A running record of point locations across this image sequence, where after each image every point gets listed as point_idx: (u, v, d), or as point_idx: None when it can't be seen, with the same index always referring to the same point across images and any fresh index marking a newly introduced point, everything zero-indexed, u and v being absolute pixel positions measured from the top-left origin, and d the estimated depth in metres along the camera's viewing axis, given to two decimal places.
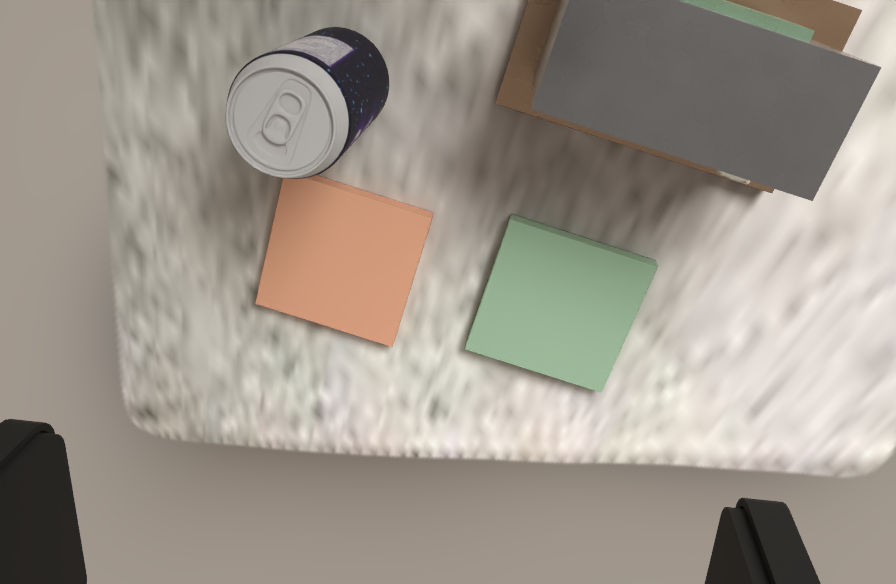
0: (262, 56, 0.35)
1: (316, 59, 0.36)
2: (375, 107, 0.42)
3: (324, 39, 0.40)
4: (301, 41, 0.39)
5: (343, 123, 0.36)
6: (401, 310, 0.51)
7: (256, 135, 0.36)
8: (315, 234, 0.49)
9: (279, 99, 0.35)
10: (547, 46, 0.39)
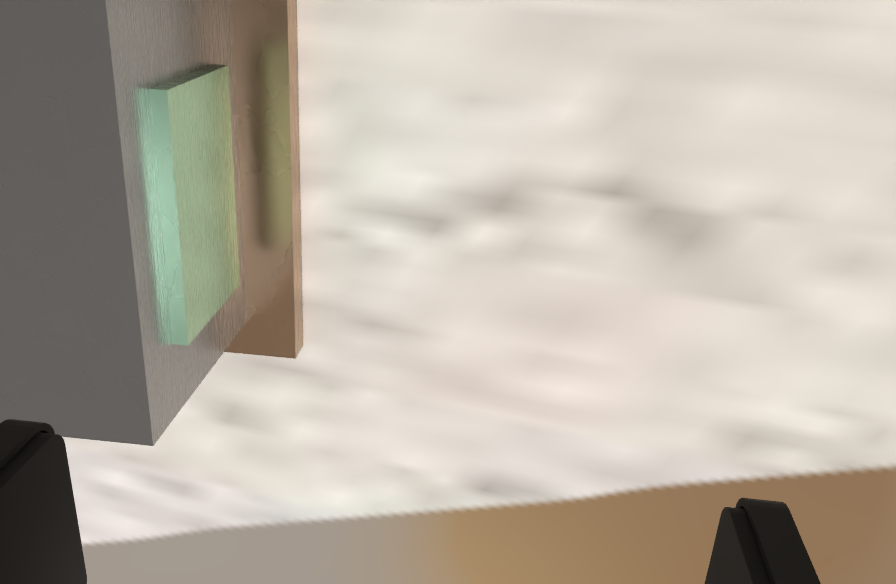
0: None
1: None
2: None
3: None
4: None
5: None
6: None
7: None
8: None
9: None
10: None
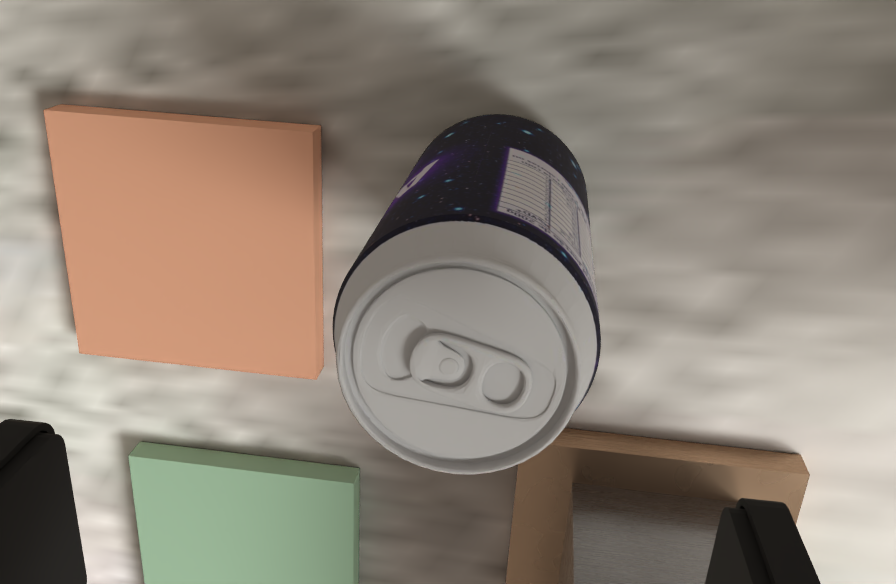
0: (580, 284, 0.16)
1: None
2: None
3: None
4: (591, 252, 0.20)
5: None
6: (147, 358, 0.30)
7: (413, 316, 0.16)
8: (218, 203, 0.27)
9: (507, 363, 0.16)
10: (643, 572, 0.26)
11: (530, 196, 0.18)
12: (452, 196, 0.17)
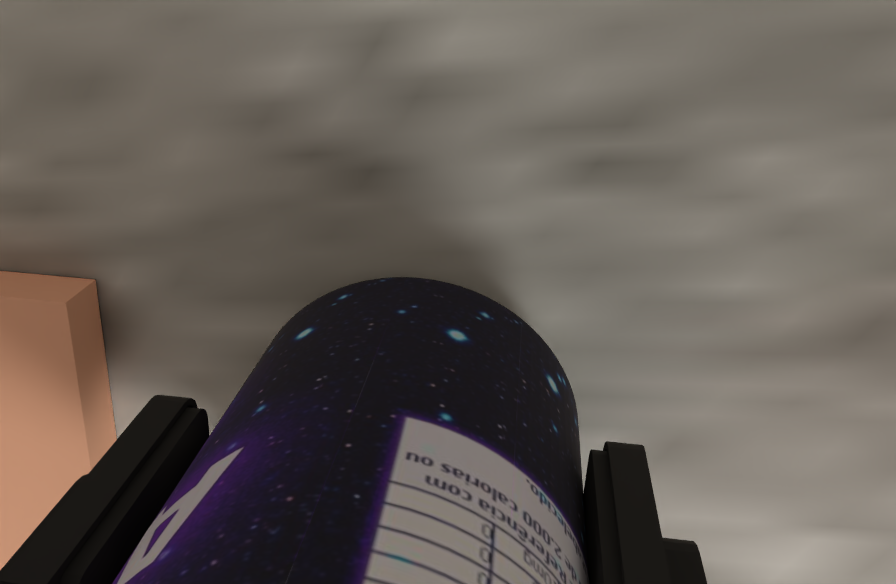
0: None
1: None
2: None
3: None
4: None
5: None
6: None
7: None
8: None
9: None
10: None
11: None
12: None
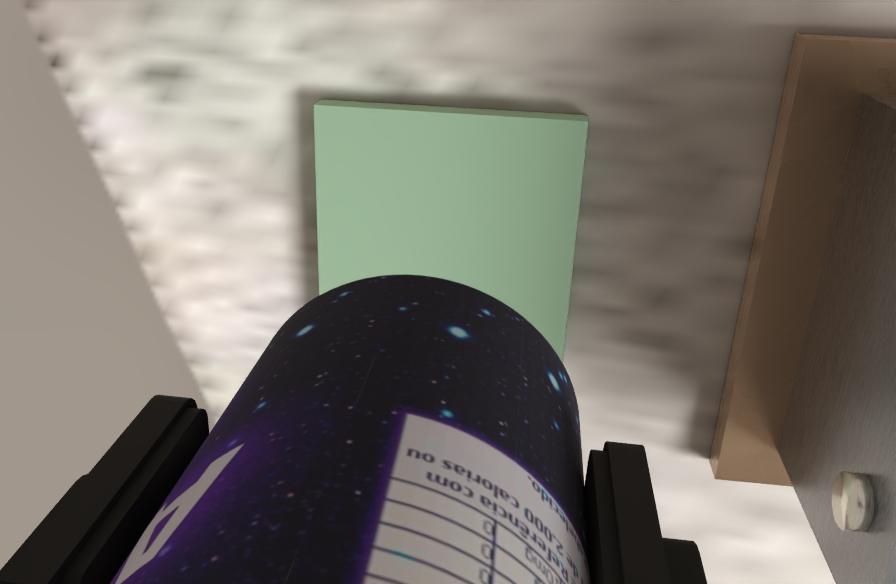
0: None
1: None
2: None
3: None
4: None
5: None
6: None
7: None
8: None
9: None
10: None
11: None
12: None
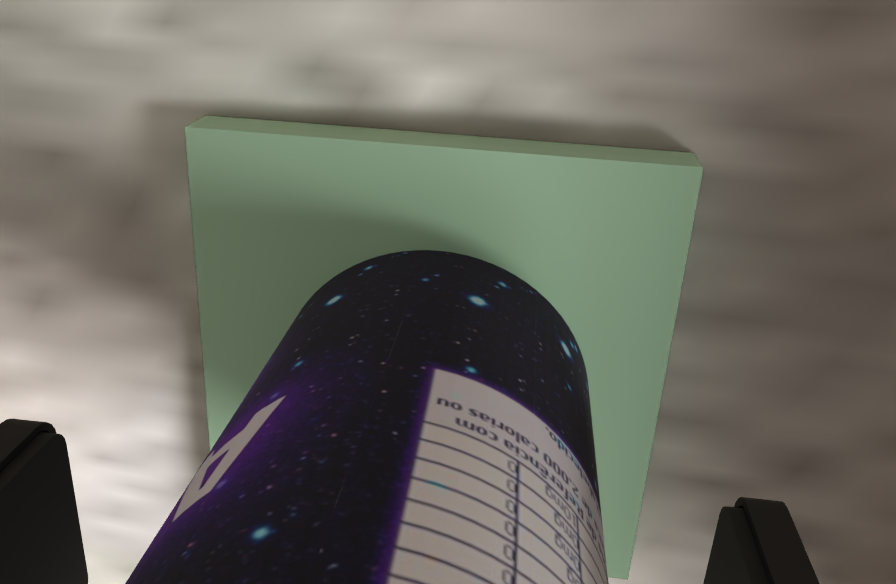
0: None
1: None
2: None
3: None
4: None
5: None
6: None
7: None
8: None
9: None
10: None
11: None
12: None
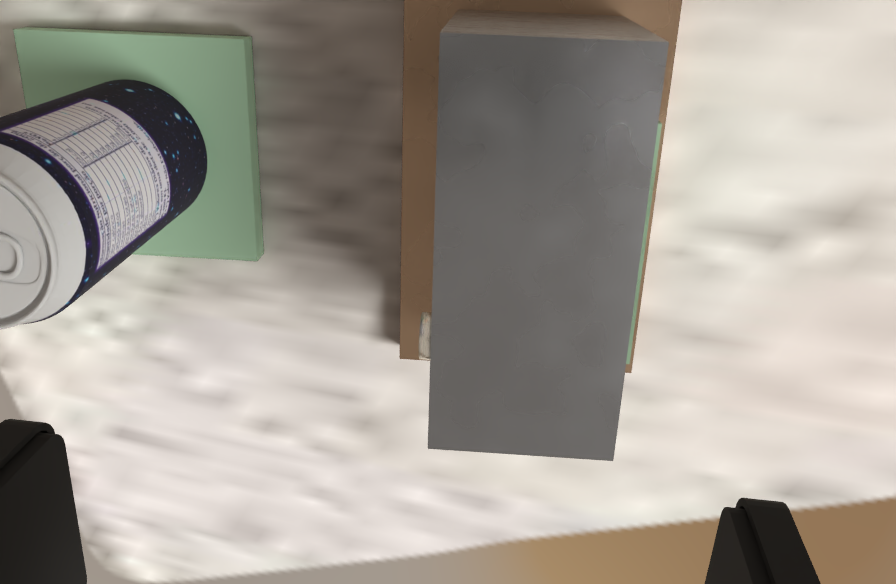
0: (59, 182, 0.22)
1: (95, 256, 0.23)
2: None
3: (157, 184, 0.27)
4: (133, 172, 0.26)
5: None
6: None
7: None
8: None
9: (0, 239, 0.22)
10: (519, 21, 0.26)
11: (57, 126, 0.24)
12: None
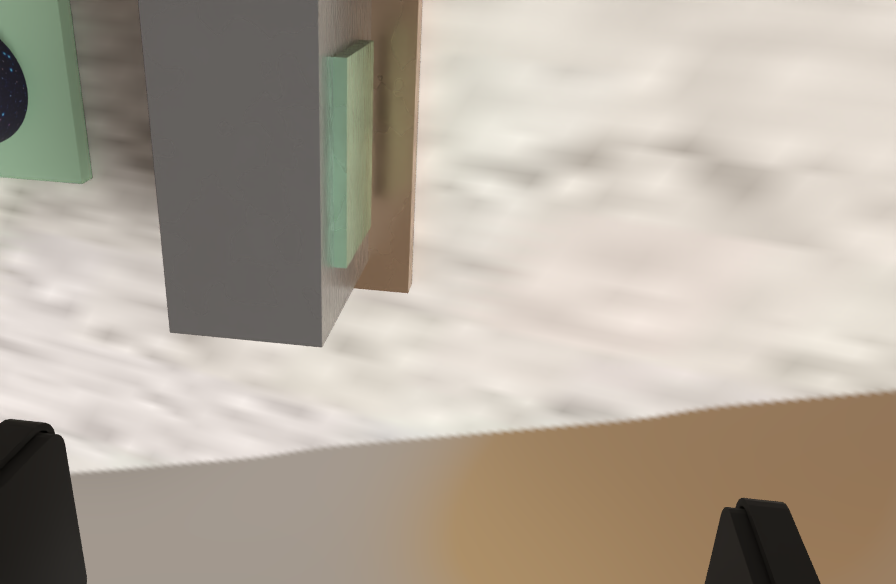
0: None
1: None
2: None
3: None
4: None
5: None
6: None
7: None
8: None
9: None
10: None
11: None
12: None
